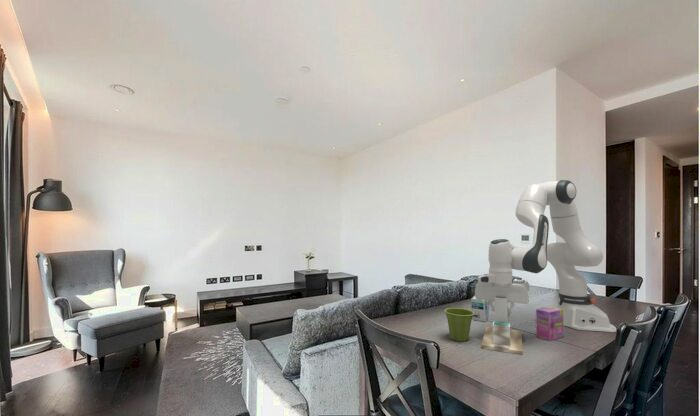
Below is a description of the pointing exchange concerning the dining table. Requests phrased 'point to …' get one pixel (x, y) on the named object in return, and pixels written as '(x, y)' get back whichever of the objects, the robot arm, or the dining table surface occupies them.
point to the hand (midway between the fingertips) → (501, 312)
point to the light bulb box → (480, 309)
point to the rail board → (513, 342)
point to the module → (501, 309)
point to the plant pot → (459, 323)
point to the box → (549, 323)
